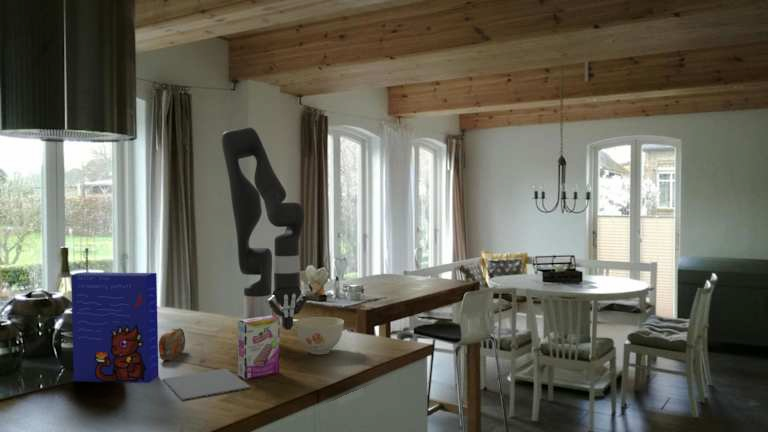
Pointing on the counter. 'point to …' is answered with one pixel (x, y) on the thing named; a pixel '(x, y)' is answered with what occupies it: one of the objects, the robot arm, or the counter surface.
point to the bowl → (319, 333)
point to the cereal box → (115, 327)
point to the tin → (171, 344)
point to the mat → (205, 383)
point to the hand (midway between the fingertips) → (287, 329)
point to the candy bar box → (258, 347)
